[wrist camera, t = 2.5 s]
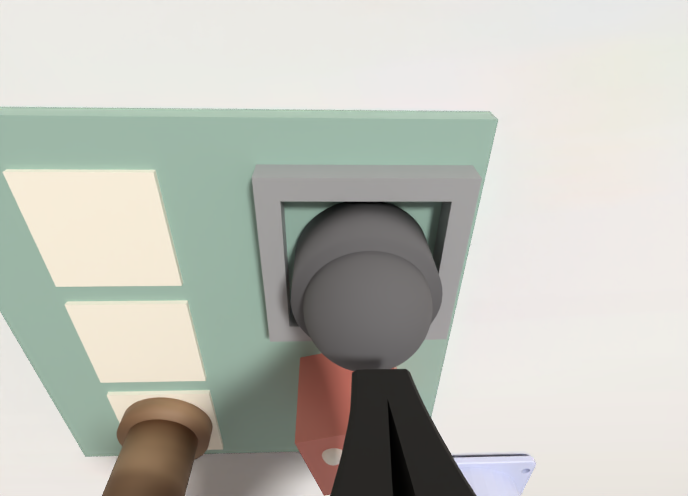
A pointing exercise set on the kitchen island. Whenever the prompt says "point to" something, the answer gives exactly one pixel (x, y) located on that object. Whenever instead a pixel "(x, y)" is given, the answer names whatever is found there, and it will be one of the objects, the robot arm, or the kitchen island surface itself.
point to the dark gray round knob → (365, 285)
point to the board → (208, 250)
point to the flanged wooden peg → (158, 447)
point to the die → (322, 416)
